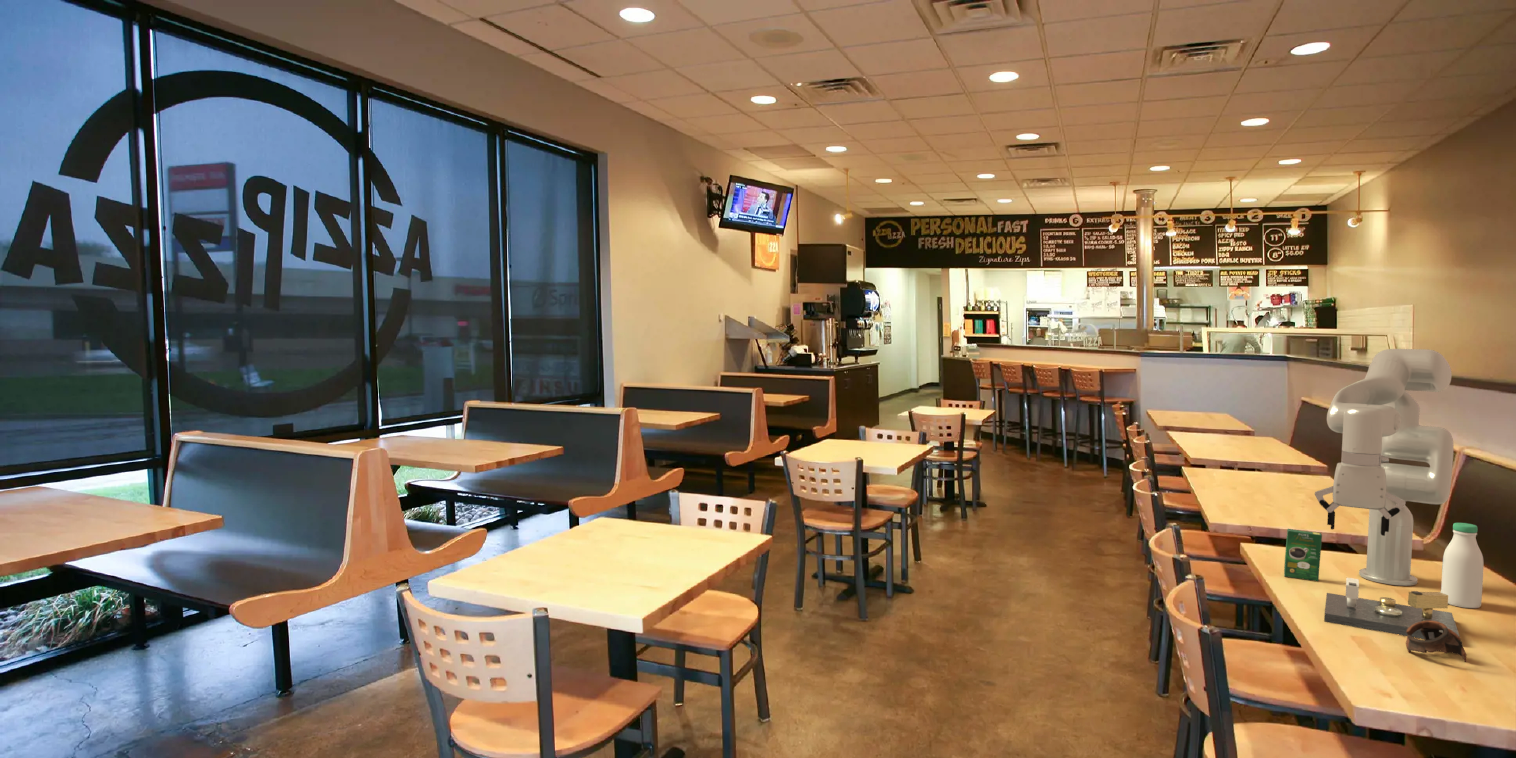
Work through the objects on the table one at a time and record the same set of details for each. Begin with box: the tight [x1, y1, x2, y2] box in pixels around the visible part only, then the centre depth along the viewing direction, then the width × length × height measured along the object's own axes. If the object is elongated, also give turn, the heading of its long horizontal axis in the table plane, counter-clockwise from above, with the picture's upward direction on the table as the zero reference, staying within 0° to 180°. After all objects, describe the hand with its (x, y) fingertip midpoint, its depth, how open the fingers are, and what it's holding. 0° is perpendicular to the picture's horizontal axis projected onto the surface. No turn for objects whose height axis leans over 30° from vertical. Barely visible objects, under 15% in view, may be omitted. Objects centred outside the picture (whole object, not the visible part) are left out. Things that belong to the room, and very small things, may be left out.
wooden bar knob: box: [1407, 590, 1449, 619], centre depth 187 cm, size 7×2×6 cm, turn 89°
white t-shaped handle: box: [1345, 577, 1360, 607], centre depth 195 cm, size 7×2×6 cm, turn 144°
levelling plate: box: [1323, 592, 1461, 640], centre depth 191 cm, size 18×24×4 cm
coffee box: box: [1283, 528, 1323, 582], centre depth 223 cm, size 8×3×13 cm, turn 58°
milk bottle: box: [1440, 522, 1484, 609], centre depth 203 cm, size 8×8×20 cm
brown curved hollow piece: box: [1405, 620, 1468, 663], centre depth 172 cm, size 12×10×8 cm
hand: (1357, 531), depth 194 cm, fingers open, 9 cm apart
